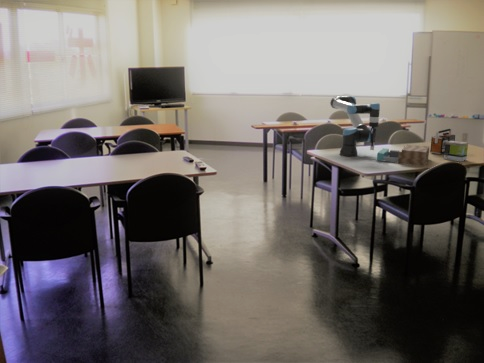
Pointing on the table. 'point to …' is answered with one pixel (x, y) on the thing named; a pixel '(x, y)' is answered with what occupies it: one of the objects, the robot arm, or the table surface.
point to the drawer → (385, 156)
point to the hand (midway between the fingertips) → (372, 149)
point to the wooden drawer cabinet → (414, 155)
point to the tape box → (394, 153)
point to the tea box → (455, 150)
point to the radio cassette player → (441, 141)
